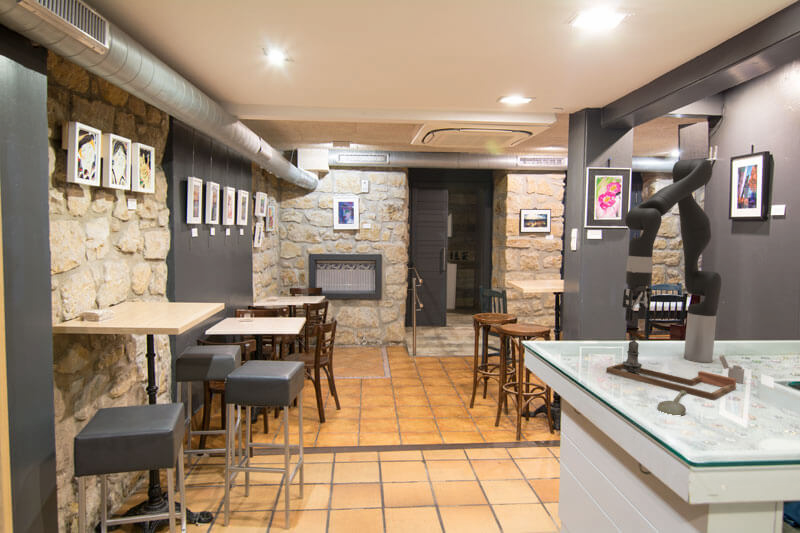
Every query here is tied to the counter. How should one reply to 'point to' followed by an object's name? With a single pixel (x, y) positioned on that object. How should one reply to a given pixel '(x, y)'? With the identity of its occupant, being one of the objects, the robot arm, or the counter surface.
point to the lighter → (733, 370)
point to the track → (680, 381)
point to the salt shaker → (632, 358)
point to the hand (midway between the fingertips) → (635, 319)
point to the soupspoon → (673, 406)
